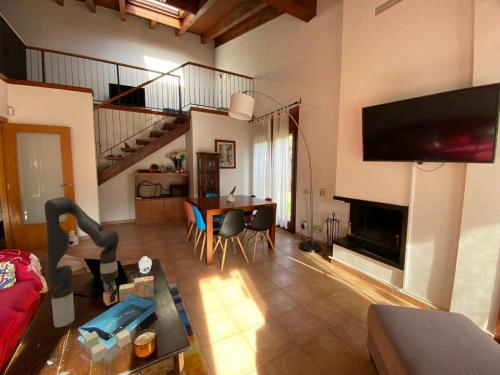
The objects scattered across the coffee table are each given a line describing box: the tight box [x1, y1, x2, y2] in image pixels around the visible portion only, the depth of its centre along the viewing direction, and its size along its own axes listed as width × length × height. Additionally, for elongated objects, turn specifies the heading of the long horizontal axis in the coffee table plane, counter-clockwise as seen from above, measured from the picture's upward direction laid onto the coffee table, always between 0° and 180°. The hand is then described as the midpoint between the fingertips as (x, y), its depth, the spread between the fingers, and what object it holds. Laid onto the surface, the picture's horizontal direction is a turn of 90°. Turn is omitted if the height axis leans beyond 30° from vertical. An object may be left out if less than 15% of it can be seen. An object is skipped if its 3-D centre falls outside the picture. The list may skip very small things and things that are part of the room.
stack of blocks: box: [118, 275, 155, 303], centre depth 153 cm, size 21×6×12 cm, turn 114°
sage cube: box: [83, 330, 100, 351], centre depth 113 cm, size 5×5×5 cm
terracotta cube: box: [102, 291, 119, 306], centre depth 117 cm, size 5×5×5 cm
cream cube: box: [115, 328, 131, 349], centre depth 114 cm, size 5×5×5 cm
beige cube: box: [90, 341, 108, 364], centre depth 106 cm, size 5×5×5 cm
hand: (110, 299), depth 117 cm, fingers closed on terracotta cube, 5 cm apart
